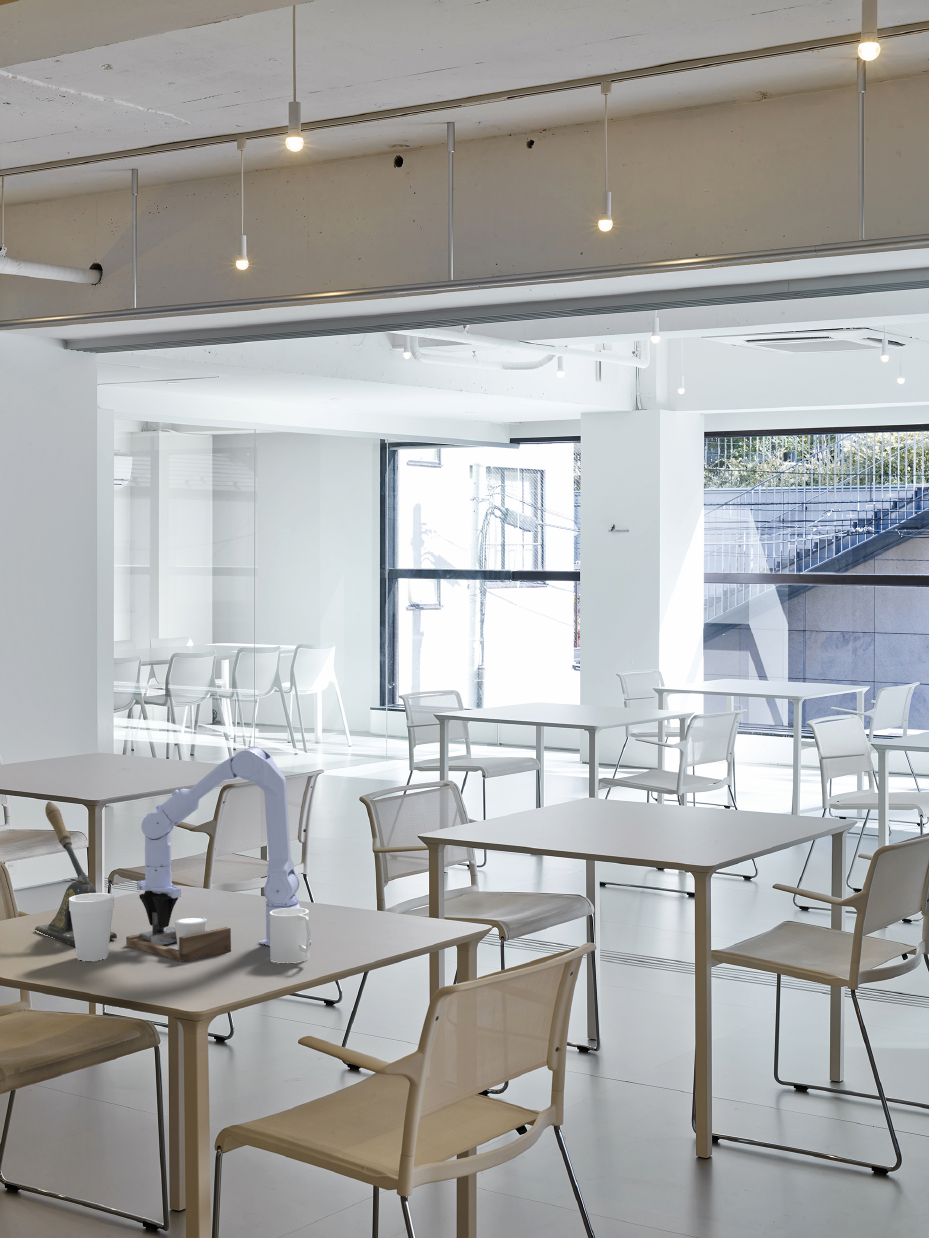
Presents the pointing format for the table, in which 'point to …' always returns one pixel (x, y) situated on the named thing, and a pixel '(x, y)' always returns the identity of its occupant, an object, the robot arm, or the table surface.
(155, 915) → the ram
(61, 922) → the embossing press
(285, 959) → the cup
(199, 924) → the white tapered cylinder
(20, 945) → the table surface
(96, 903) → the foam cup
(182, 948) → the wooden tray
